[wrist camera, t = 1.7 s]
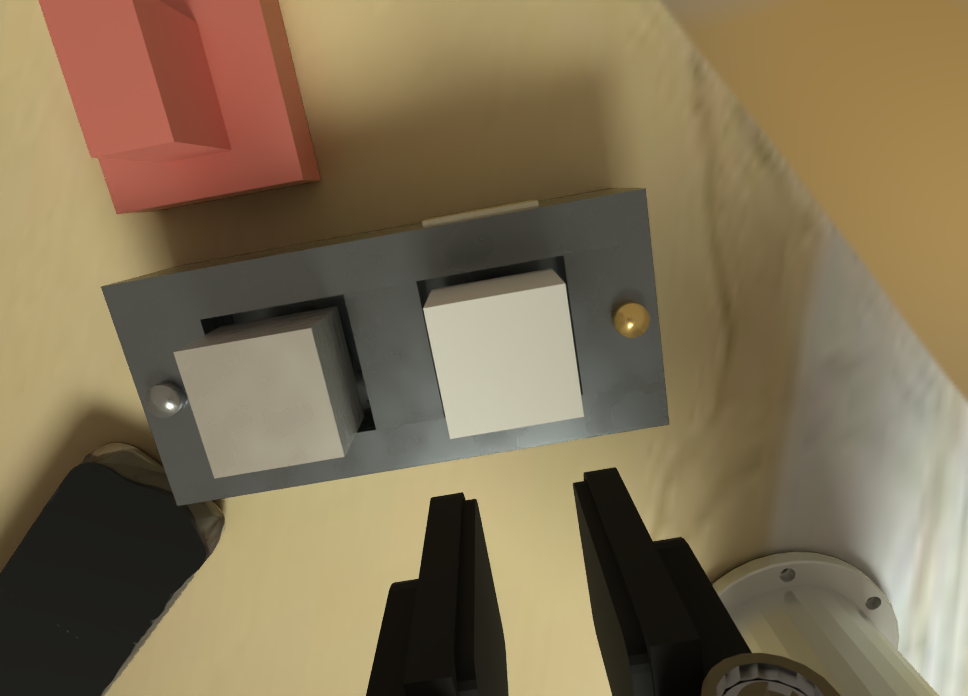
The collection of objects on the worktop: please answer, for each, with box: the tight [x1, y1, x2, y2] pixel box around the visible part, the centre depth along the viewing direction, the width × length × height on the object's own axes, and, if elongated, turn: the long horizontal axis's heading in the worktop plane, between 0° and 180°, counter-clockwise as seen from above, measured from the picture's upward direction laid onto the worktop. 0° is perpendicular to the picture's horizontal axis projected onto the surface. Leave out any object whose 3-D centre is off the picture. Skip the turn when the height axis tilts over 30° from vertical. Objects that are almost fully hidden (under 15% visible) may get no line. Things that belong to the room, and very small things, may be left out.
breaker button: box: [423, 268, 584, 439], centre depth 23 cm, size 5×5×4 cm
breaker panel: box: [101, 188, 669, 506], centre depth 26 cm, size 10×22×10 cm, turn 100°
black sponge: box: [0, 443, 225, 696], centre depth 33 cm, size 16×8×4 cm, turn 142°
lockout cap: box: [39, 0, 321, 214], centre depth 24 cm, size 8×8×8 cm
